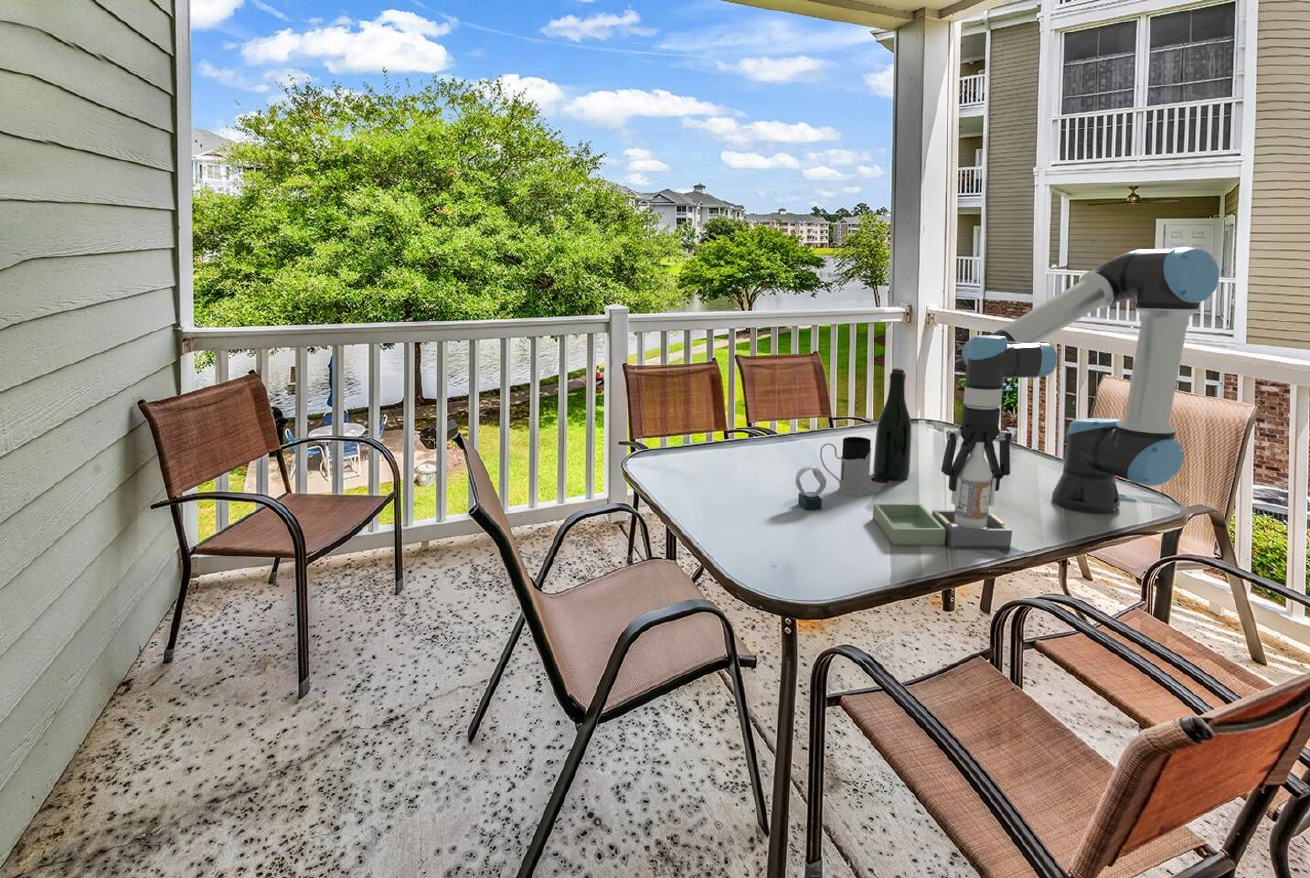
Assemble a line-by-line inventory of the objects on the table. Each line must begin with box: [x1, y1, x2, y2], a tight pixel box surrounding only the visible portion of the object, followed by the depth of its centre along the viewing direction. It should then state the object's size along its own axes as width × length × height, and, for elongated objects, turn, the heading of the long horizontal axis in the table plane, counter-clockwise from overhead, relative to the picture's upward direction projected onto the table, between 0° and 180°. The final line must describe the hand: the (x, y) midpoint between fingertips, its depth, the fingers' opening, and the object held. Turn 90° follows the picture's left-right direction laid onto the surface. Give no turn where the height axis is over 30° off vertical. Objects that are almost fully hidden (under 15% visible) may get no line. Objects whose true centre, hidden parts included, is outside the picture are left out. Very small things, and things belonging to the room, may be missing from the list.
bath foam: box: [954, 442, 992, 529], centre depth 155 cm, size 7×7×20 cm
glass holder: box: [819, 436, 872, 497], centre depth 192 cm, size 9×14×15 cm, turn 80°
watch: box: [794, 465, 828, 512], centre depth 180 cm, size 6×8×11 cm
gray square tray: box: [931, 509, 1013, 550], centre depth 157 cm, size 13×13×5 cm
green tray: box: [872, 503, 946, 547], centre depth 162 cm, size 12×18×4 cm, turn 177°
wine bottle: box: [872, 367, 913, 481], centre depth 203 cm, size 10×10×33 cm
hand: (972, 503), depth 156 cm, fingers closed on bath foam, 7 cm apart
